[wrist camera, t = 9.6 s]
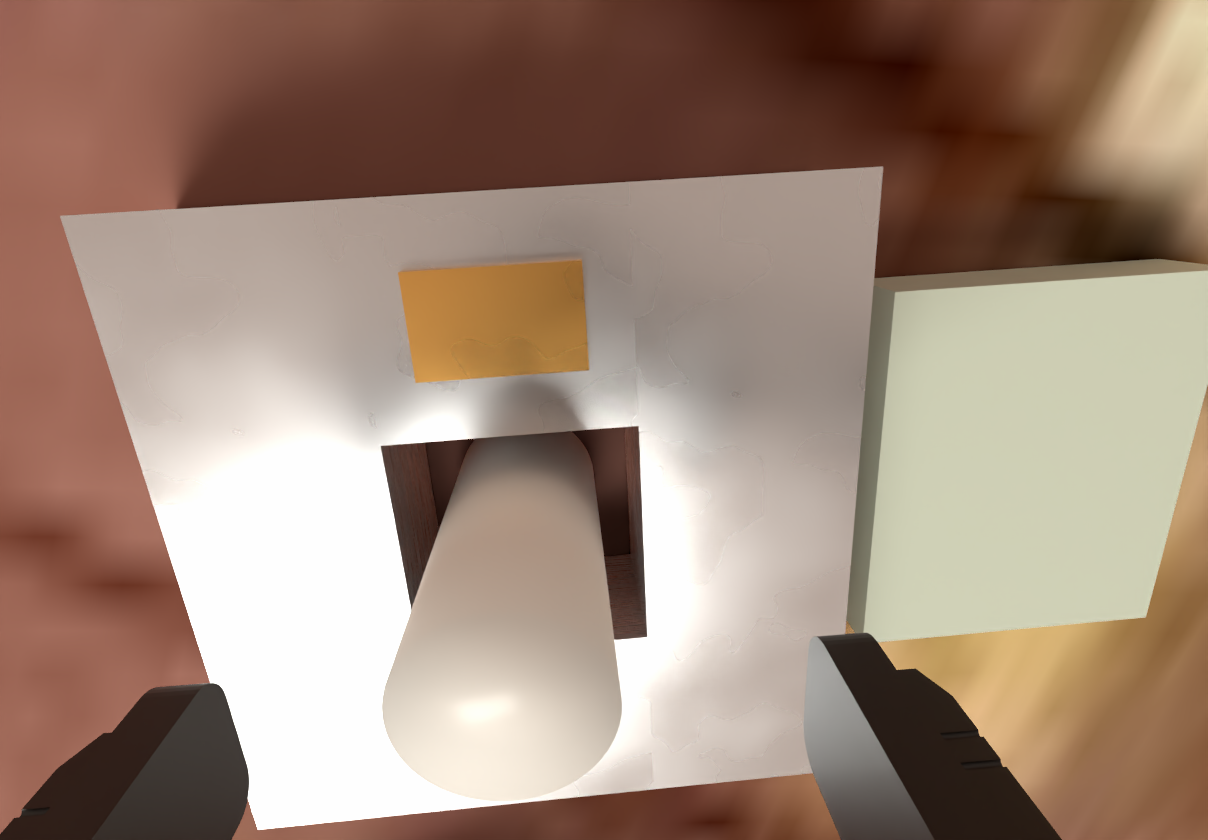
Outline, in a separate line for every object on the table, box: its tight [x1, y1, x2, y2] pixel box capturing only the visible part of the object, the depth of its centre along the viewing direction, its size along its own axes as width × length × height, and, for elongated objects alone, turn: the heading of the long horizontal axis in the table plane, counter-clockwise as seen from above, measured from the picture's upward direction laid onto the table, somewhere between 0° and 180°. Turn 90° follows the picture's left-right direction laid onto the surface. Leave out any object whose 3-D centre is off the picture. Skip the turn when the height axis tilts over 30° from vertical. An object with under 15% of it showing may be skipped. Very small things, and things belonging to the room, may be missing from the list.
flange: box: [60, 167, 883, 830], centre depth 15 cm, size 14×14×4 cm
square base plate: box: [846, 259, 1208, 642], centre depth 16 cm, size 8×9×2 cm
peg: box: [382, 431, 622, 802], centre depth 13 cm, size 3×3×8 cm
